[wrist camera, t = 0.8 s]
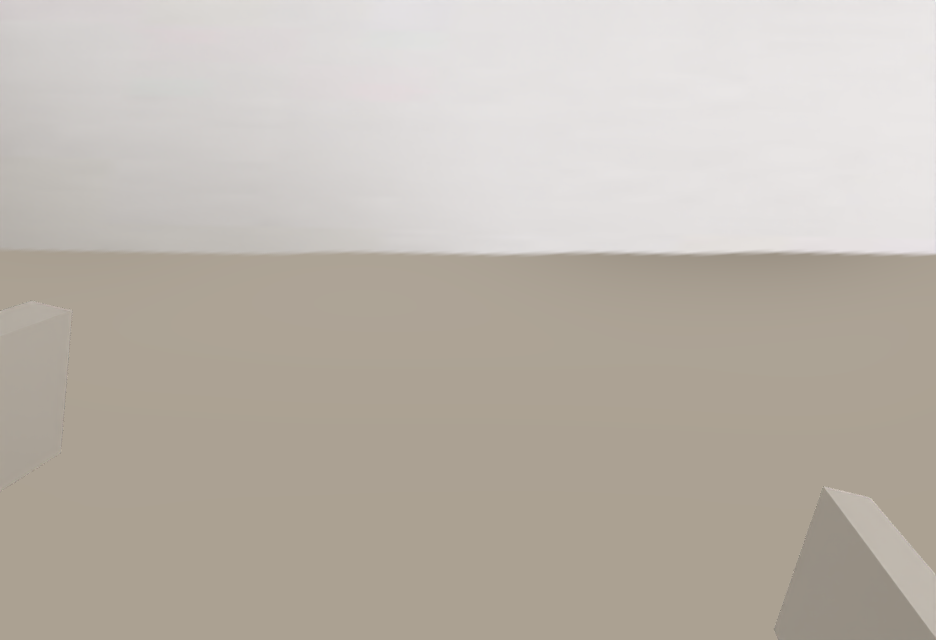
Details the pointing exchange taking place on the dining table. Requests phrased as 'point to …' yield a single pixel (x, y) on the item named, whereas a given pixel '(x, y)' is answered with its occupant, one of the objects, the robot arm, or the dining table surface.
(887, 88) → the dining table surface
